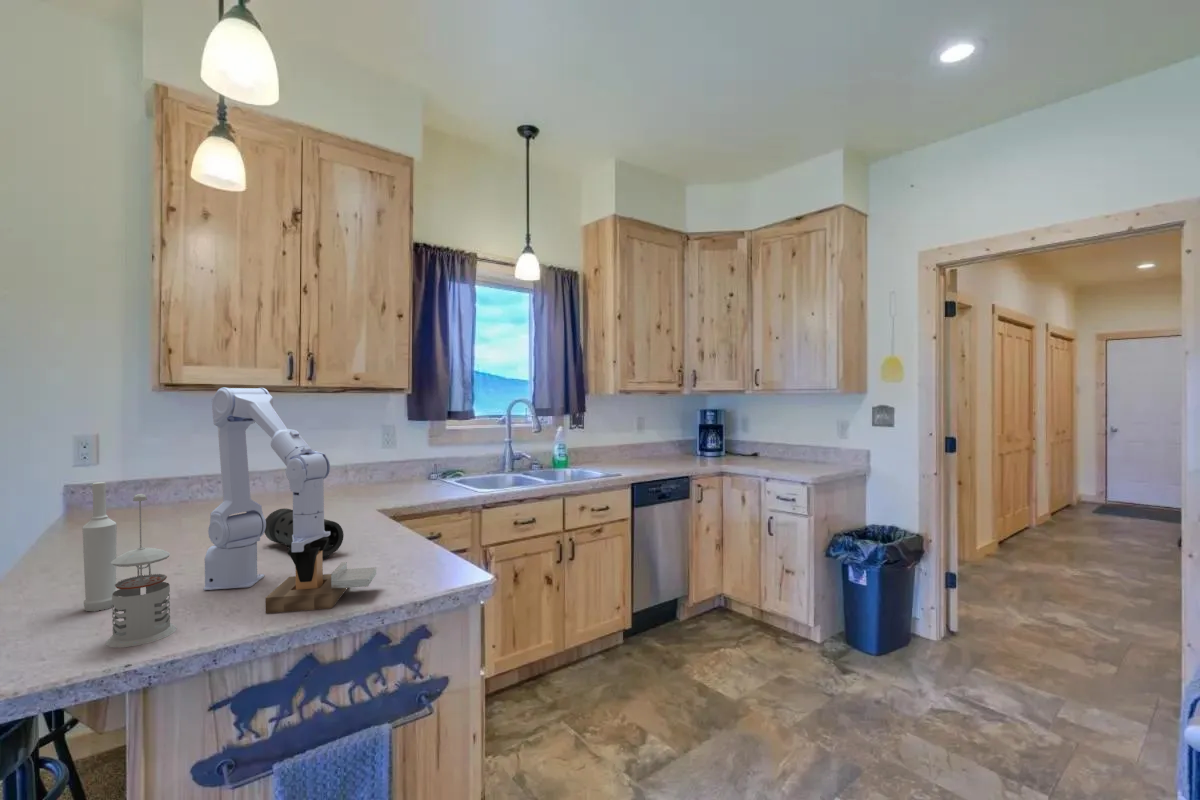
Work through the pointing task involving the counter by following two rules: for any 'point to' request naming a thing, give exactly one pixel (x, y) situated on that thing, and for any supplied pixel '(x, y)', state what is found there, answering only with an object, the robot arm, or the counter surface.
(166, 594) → the french press
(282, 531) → the muzzle brake
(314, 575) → the tan cardboard box
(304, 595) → the socket plate
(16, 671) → the counter surface
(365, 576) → the grey stepped block
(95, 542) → the bottle
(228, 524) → the robot arm
